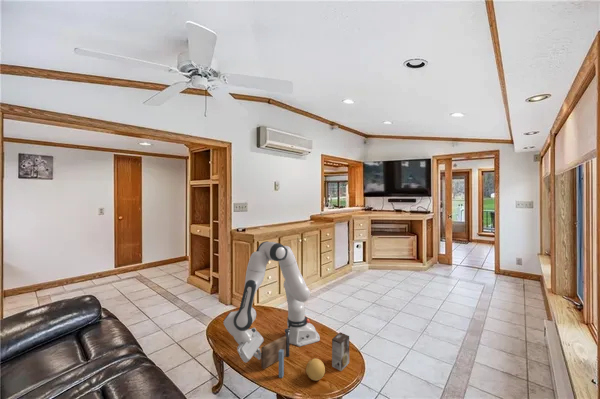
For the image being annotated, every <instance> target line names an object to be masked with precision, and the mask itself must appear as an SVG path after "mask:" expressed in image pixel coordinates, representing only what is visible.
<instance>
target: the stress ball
mask: <svg viewBox="0 0 600 399" xmlns="http://www.w3.org/2000/svg"><path fill="white" fill-rule="evenodd" d="M307 362H308V363H306V370H305V373H306V375H307V377H308V378H309V379H311V381H319V380H321V379H323V377H324V375H325V374H326V368H325V364H324V362H323V361H322V360H321V359H319V358H315V357H314V358H312V359H310V360H309V361H307Z"/></svg>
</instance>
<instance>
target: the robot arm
mask: <svg viewBox="0 0 600 399" xmlns="http://www.w3.org/2000/svg"><path fill="white" fill-rule="evenodd" d="M270 261H274V262H278V265H279V268H280V270H281V273H282V277H283V278H284V282H283V288H284V290H285V291H284V292H285V297H286V301H287V320H286V322H287V323H286V325H287V326H286V327H287V328H288V329H290V332H289V344H291V345H295V346H296V347H302V346H307V345H311V344H314V343H317V342H320V339H321V337H320V334H319V333H318V331H317V330H316V327H315V326H314V324H312V323H311V322H310V321H311V320H310V319H309V318H308V317H307V316H306V314H305V313H306V312H305V311H306V309H305V308H306V306H305V302H307V301H308V300H309V299H310V297H311V290H310V288H309V287H308V285H307V283H306V281H305V279H304V277H303V275H302V273H301V271H300V268H299V265H298V263H297V259H296V257H295V253H294V252H293V250H292V248H291V247H290V246H288V245H283V244H282V243H280V242H275V241H263V242H261V243H260V244H259V245H258V247H257V248H256V251H253V252H252V253H251V254H250V257H249V260H248V263H247V268H246V271H245V280H244V287H243V293H242V295H241V296H242V297H241V301H240V306H239V308H238V310H235V311H230V312H229V313H228V314H227V315H226V316H225V317H224V320H223V326H224V327H225V329H226V331H227V332H228V334H230V335H231V336H233V339H234V341H235V342H236V343H237V344H238V345H237V348H236V350H237V353H238V354H239V357H240V359H241V360H242V361H243V363H248V362H249V361H250V360H251V359H252V358H253V357H254V358H256V359H257V360H258V361H260V360H261V348H260V347H261V345H263V343H264V341H265V340H264V337H263V336H262V335H261V333H260V332H259V331H258V330H257V328H256V327H252V325H253V323H254V321H256V318H257V311H256V309H255V308H254V307H253V303H254V298H255V296H256V295H255V294H256V293H257V291H258V289H259V288H260V287H261V285H262V283H263V282H264V278H265V275H266V272H267V271H266V270H267V265H268V263H269V262H270ZM251 327H252V328H251Z"/></svg>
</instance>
